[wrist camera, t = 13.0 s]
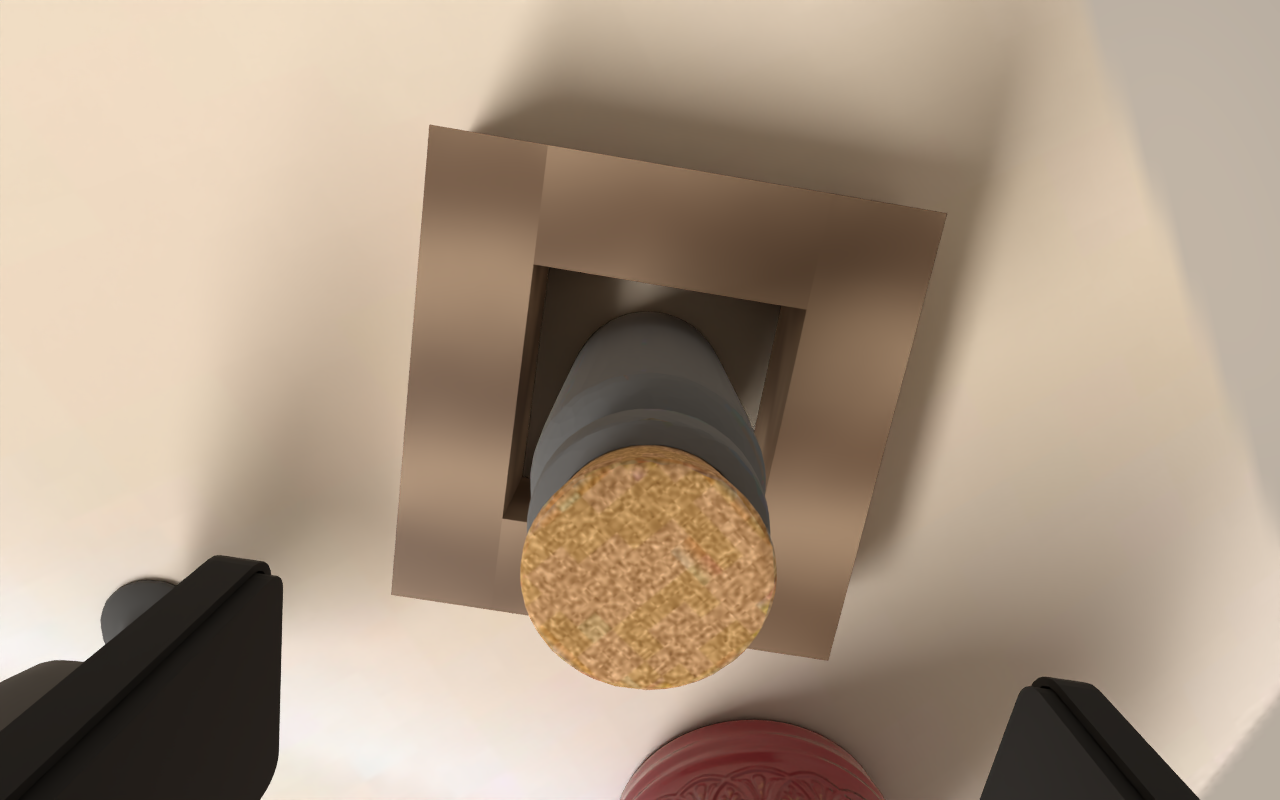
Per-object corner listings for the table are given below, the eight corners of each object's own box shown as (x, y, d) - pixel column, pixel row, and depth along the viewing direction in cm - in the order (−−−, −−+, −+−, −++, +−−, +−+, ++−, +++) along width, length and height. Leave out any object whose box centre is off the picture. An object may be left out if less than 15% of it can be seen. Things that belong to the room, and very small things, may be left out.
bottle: (546, 346, 27) (431, 503, 12) (688, 285, 26) (741, 377, 12) (608, 477, 28) (569, 758, 14) (744, 423, 28) (854, 657, 13)
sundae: (70, 556, 29) (-493, 888, 15) (230, 566, 29) (-175, 907, 15) (91, 691, 31) (-396, 1108, 17) (243, 701, 31) (-111, 1125, 17)
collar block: (463, 138, 25) (429, 124, 21) (901, 213, 26) (947, 213, 22) (425, 544, 29) (391, 594, 25) (804, 602, 30) (828, 660, 26)
